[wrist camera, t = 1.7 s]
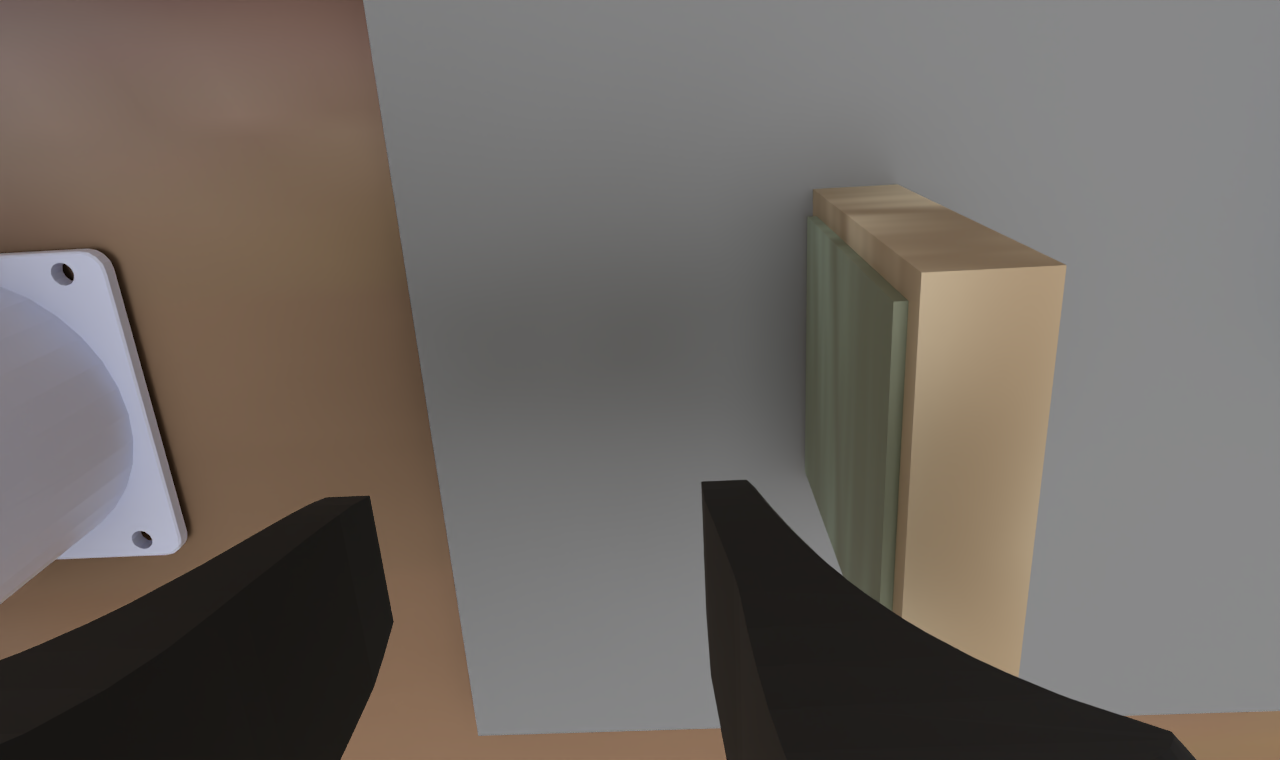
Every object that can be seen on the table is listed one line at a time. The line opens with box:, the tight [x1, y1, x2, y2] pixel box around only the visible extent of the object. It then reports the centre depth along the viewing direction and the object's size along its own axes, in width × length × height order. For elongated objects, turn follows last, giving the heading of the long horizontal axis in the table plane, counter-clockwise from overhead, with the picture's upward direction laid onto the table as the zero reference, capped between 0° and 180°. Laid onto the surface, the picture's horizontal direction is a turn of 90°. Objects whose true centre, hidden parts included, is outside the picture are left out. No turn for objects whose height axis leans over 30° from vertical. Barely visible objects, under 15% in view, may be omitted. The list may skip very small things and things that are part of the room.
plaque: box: [805, 184, 1067, 677], centre depth 16 cm, size 2×7×8 cm, turn 3°
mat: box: [363, 0, 1280, 736], centre depth 20 cm, size 22×22×1 cm
